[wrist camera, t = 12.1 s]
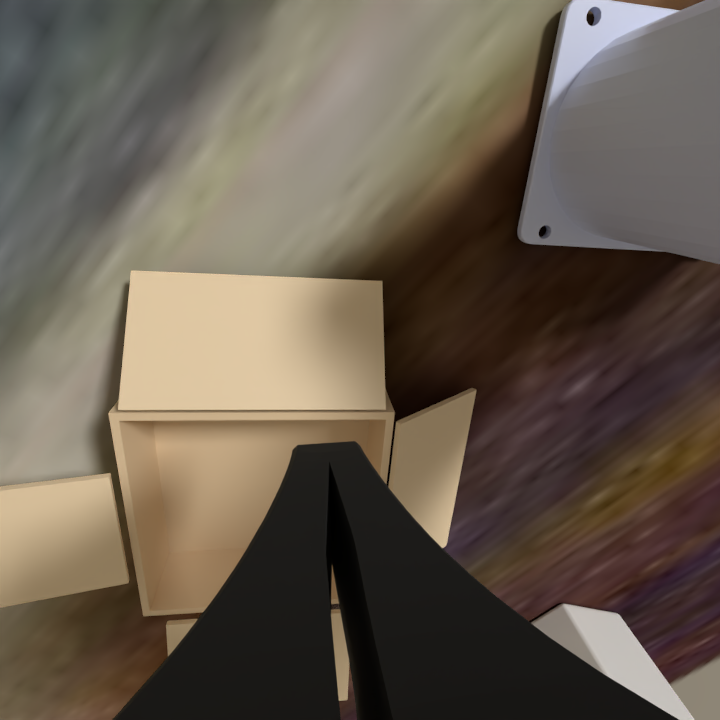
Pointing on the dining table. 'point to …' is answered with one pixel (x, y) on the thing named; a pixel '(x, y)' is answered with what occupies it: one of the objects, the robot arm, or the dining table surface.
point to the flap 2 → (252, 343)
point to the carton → (216, 487)
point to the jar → (611, 652)
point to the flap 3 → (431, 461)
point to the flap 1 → (59, 539)
